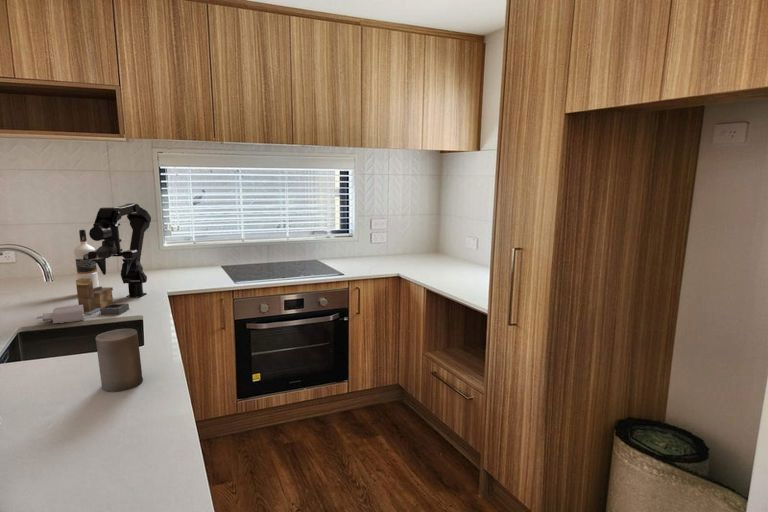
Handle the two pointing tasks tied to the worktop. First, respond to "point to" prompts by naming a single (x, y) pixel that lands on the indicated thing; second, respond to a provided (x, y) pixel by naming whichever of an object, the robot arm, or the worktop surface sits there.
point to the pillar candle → (119, 359)
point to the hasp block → (114, 309)
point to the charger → (64, 314)
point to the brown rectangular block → (85, 294)
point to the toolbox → (102, 296)
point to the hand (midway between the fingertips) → (115, 274)
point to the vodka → (85, 260)
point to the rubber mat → (93, 311)
